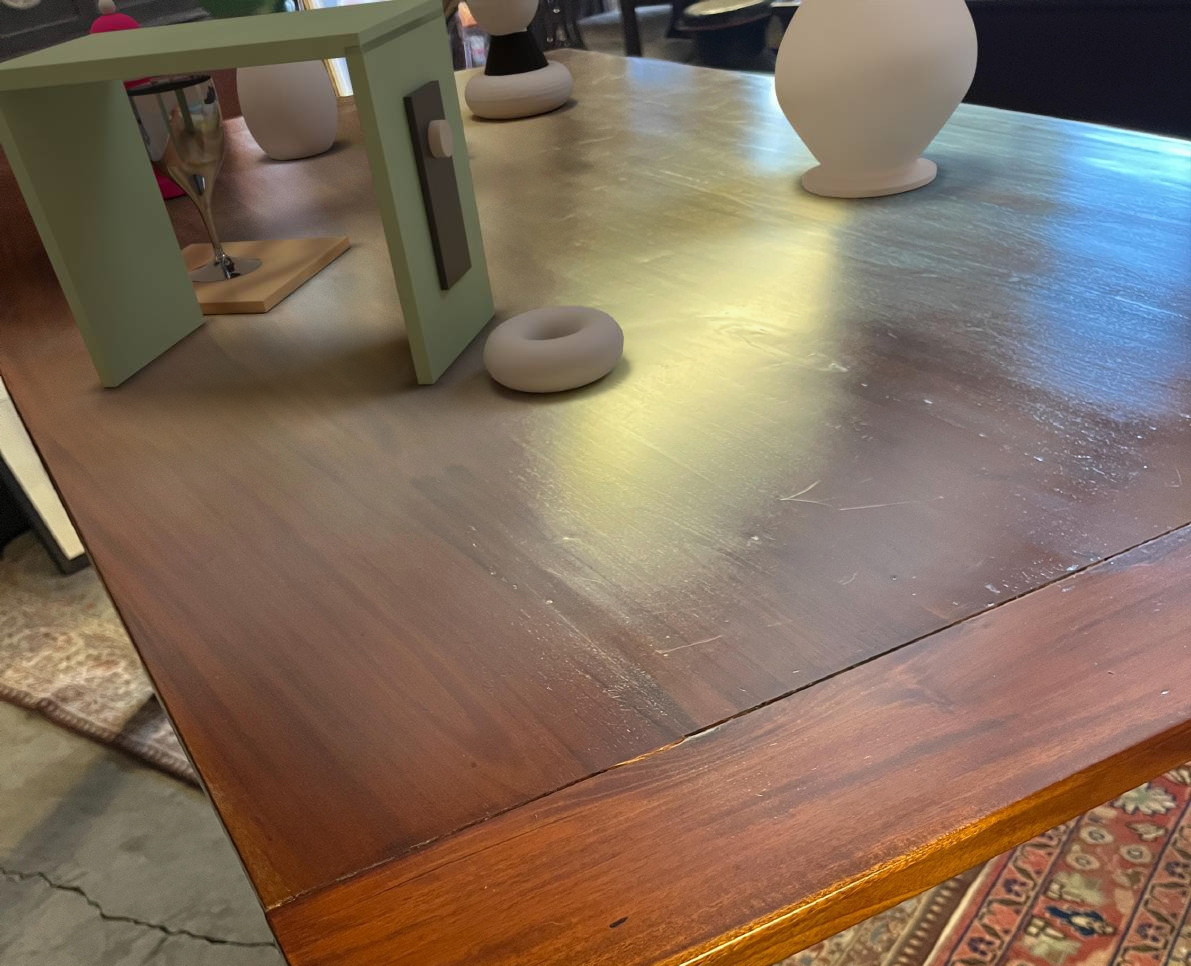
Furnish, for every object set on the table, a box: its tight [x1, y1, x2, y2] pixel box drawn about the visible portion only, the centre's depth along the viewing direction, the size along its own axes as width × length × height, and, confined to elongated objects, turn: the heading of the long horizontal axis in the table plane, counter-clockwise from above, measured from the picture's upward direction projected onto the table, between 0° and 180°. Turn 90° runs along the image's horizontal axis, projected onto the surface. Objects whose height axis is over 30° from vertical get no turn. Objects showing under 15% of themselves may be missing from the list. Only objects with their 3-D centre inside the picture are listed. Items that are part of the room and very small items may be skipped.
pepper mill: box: [89, 0, 186, 200], centre depth 130 cm, size 7×7×20 cm
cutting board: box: [180, 236, 351, 315], centre depth 104 cm, size 18×18×1 cm
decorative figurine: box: [464, 0, 574, 120], centre depth 143 cm, size 15×15×20 cm
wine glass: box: [125, 74, 262, 283], centre depth 99 cm, size 8×8×15 cm
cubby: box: [0, 0, 496, 388], centre depth 80 cm, size 30×14×21 cm, turn 75°
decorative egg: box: [236, 60, 339, 161], centre depth 141 cm, size 12×12×15 cm
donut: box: [482, 305, 625, 394], centre depth 77 cm, size 10×3×10 cm
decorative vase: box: [774, 0, 978, 199], centre depth 97 cm, size 18×18×25 cm
